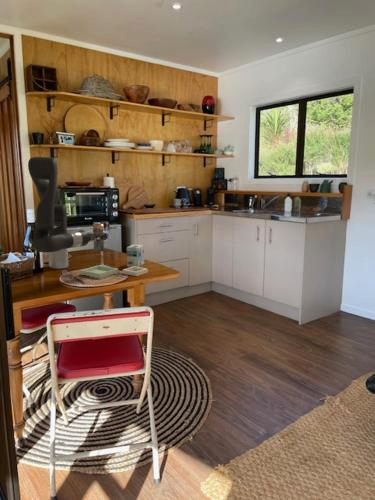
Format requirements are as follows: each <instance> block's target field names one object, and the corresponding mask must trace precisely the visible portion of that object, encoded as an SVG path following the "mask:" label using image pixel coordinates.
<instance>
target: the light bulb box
mask: <svg viewBox="0 0 375 500" xmlns="http://www.w3.org/2000/svg"><path fill="white" fill-rule="evenodd" d="M144 264H145V244H135V243H133V244H131V245H129V246H127V247H126V267H127V268H130V267H133V266H135V267H141V266H143V265H144Z"/></svg>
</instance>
